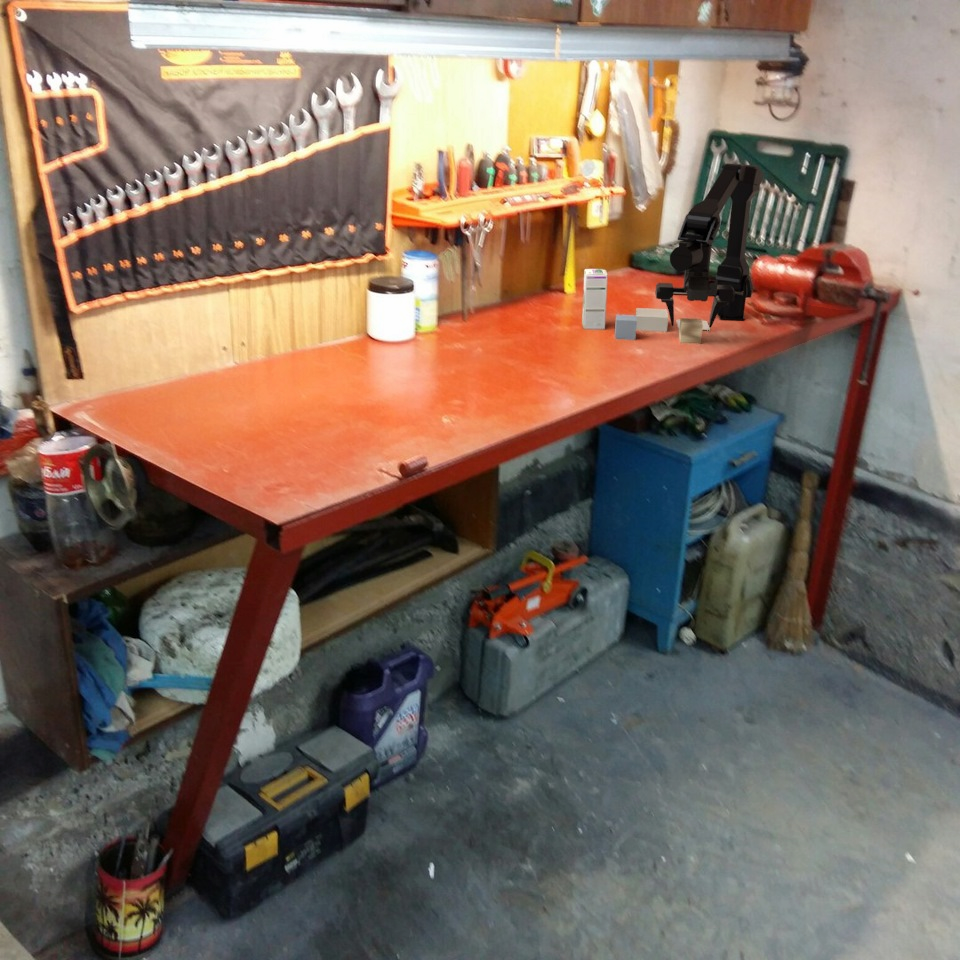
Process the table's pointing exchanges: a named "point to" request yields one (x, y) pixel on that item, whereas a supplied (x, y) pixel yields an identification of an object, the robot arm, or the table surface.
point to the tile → (705, 324)
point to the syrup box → (594, 299)
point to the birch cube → (690, 330)
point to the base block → (652, 319)
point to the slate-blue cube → (625, 327)
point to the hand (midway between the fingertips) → (691, 326)
